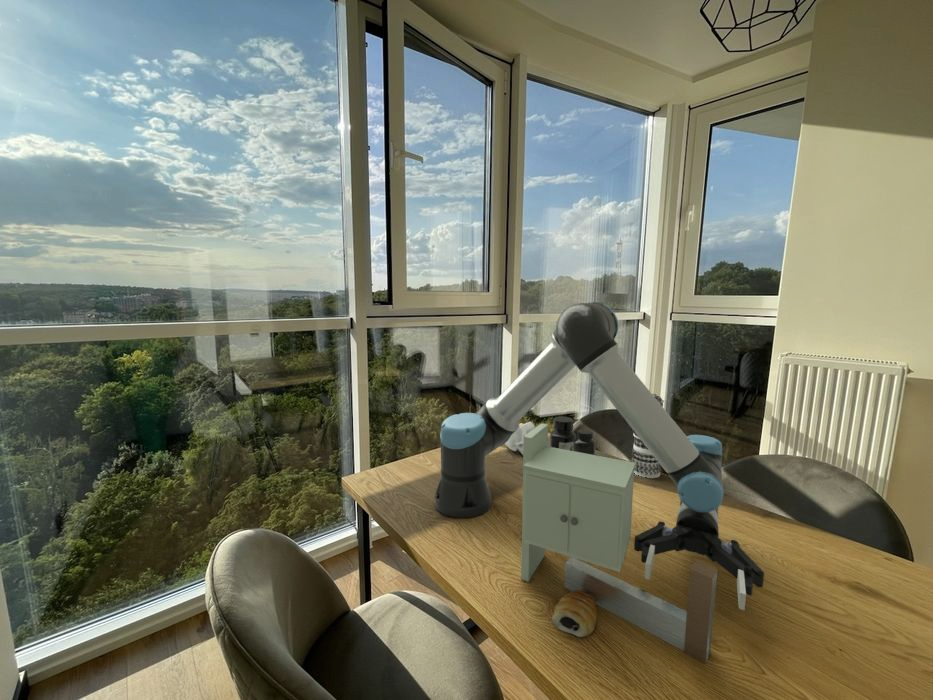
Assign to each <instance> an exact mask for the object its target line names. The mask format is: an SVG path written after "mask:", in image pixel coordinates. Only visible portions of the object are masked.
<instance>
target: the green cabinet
mask: <svg viewBox="0 0 933 700" xmlns="http://www.w3.org/2000/svg"><path fill="white" fill-rule="evenodd" d="M548 435H549V424H548V423H541V422H540V424H538V425H537V426H535V428H534V429H533V430H532V431H530V432H529V433H528V434H526V435H525V436H524V447H523V455H522V456H523V457H522V461H523V463H522V510H521V512H522V514H521V515H522V516H521V518H522V519H521V558H520V559H521V561H520V563H521V564H520V565H521V567H520V570H521V571H520V573H521V574H520V580H522V581H525V582H527V583H528V582H529V581H530V580H531V579H532V577H533V575H534V573H535V572H536V570H537V568H538V567H539V566H540V564H541V562H542V560H544V557H545V555H546V553H545V552H546V550H548V551H552V552H555V553H556V554H557V553H558V554H561V555H565V556H567V557H569V558H571V557H573V558H575V559H577V560H580V561H582V562H585V563H589V564H593V565H595V566H599V567H601V568H606V569H608V570H611V571H615V572H618V573H620V572H621V570H622V567H623V564H624V561H625V557H626V554H627V550H628V548H629V544H630V542H631V541H630V540H631V535H632V534H631V533H632V519H633V518H632V514H633V498H634V497H633V496H634V481H635V480H634V475H635V474H634V470H635V467H636V463H634V462H632V461H629V460H628V461H627V460H622V459H616V458H610V457H606V456H601V455H596V454H595V455H591V454H586V453H580V452H575V451H569V450H564V449H559V448H553V447H550V446H549V444H548V443H549V436H548Z"/></svg>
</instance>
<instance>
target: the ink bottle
mask: <svg viewBox="0 0 933 700" xmlns="http://www.w3.org/2000/svg"><path fill="white" fill-rule="evenodd" d="M549 435H550V437H549V447H553V448H559V449H564V450H569V451H573V448H574V440H575V439H576V438H577V434H576V433H575V432H574V419H573V418H571V417H569V416H556V417H555V416H554V418H553V431H551V432H550V434H549Z"/></svg>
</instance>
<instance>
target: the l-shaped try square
mask: <svg viewBox="0 0 933 700" xmlns="http://www.w3.org/2000/svg"><path fill="white" fill-rule="evenodd" d="M564 564H565V565H564V588H565V589H567V590H569V591H570V592H573V591H575V590H583V591H584V592H585V593H588V594H589V595H591V596H592V597H593V598H594V600H595V605H597V606H599V607H601V608H603V609H604V610H606V611H609V612H610V613H612V614H613V615H615V616H617V617H619V618H621V619H623V620H625V621H627V622H628V623H631V624H633V625H634V626H636V627H638V628H640V629H642V630H644V631H646V632H647V633H649V634H651V635H653V636H655V637H657V638H658V639H660V640H662V641H664V642H666V643H667V644H670V645H671V646H674V647H676V648H677V649H679V650H681V651H683V653H684V654H686V655H688V656H690V657H692V658H693V659H695V660H696V661H697V660H698V661H699V662H701V663H703V664H705V665H706V664H707V662H708V660H709V659H708V658H709V656H710V654H711V650H712V638H713V626H714V616H715V615H714V613H715V602H716V592H717V577H718V568H716V567H714V566H712V565H709V564H707V563H704V562H701V561H699V560H694V562H693V563H692V565H691V567H690V569H689V579H688V592H687V593H688V594H687V603H686V605H687V606H686V610H685V609H684V608H681V607H679V606H677V605H675V604H672V603H670V602H668V601H666V600H664V599H662V598H659V597H657V596H655V595H654V594H651V593H649V592H648V591H644V590H643V589H641V588H638V587H637V586H635V585H632V584H630V583H627V582H626V581H624V580H621V579H620V578H617V577H615V576H614V575H611V574H609V573H607V572H604V571H603V570H601V569H598V568H596V567H595V566H591V565H590V564H588V563H587V562H585V561H583V560H579V559H576V558H573V557H569V559H567V560H566V561H565V562H564Z"/></svg>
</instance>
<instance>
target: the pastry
mask: <svg viewBox="0 0 933 700" xmlns="http://www.w3.org/2000/svg"><path fill="white" fill-rule="evenodd" d="M553 611H554V612H553V615H552V616H551V621H552V624H553V625H554V627H556V628H557V629H558V630H559V631H562V632H564V633H568V634H572V635H574V636H576V637H578V638H584V637H587V636H590V635H591V634H592V633H593V631H594V630H595V626H596V622H597V618H598V616H597V613H598V612H597V606H596V604H595V600H594V598H593V597H592V596H591V595H589V594H588V593H585V592H584V591H583V590H575V591H569V592H568V593H565V594H564V596H562V597H561V598H560V599H559V601H558V602H557V603H556V604H555V606H554V609H553Z"/></svg>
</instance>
